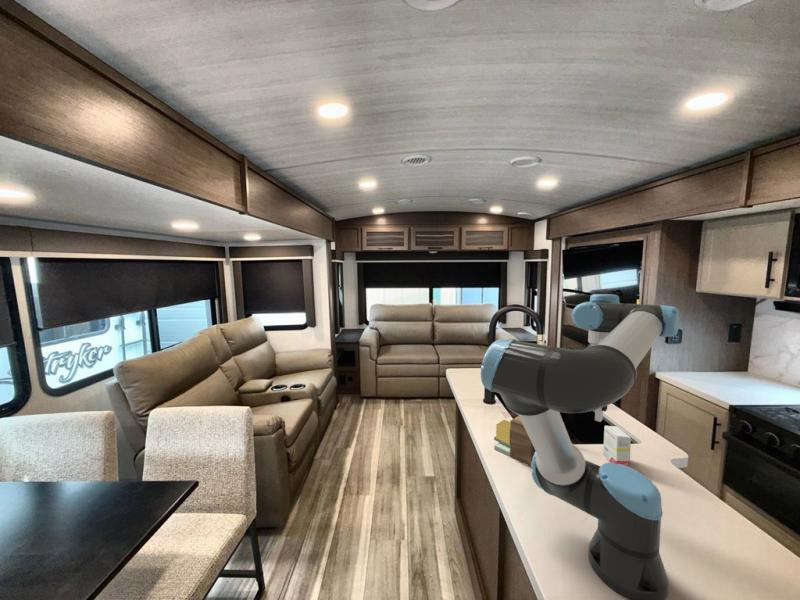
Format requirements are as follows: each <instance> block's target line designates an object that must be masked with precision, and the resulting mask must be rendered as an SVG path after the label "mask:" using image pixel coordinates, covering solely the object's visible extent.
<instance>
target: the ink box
mask: <svg viewBox="0 0 800 600" xmlns="http://www.w3.org/2000/svg"><path fill="white" fill-rule="evenodd" d="M631 443H632V437H631V436H629V435H628V434H627V433H626V432H625V431H624V430H622V429H621V428H620V427H618V426H616V425H615V426H613V425H604V431H603V449H602V450H603V452H602V453H603V454H602V455H603V457H605V459H607V460H608V461H609V463H614V464H616V465H617V464H621V465H625V466H627V467H630V466H631V463H630V462H631ZM630 468H631V467H630Z"/></svg>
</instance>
